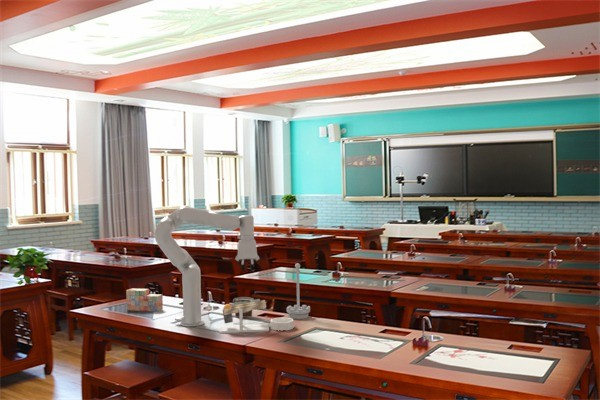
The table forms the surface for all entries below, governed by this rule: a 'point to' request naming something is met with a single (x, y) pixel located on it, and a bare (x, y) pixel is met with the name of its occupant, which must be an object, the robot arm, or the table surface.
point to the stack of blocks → (143, 300)
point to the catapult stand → (243, 326)
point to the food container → (243, 301)
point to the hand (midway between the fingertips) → (247, 271)
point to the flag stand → (298, 303)
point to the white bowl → (282, 324)
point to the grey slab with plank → (245, 307)
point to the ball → (227, 306)
